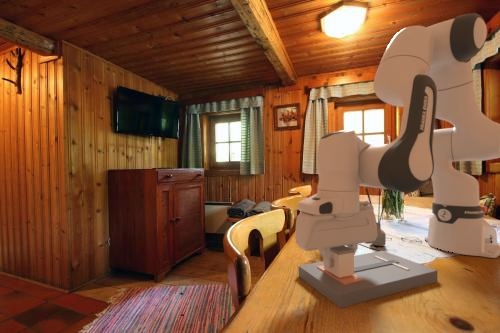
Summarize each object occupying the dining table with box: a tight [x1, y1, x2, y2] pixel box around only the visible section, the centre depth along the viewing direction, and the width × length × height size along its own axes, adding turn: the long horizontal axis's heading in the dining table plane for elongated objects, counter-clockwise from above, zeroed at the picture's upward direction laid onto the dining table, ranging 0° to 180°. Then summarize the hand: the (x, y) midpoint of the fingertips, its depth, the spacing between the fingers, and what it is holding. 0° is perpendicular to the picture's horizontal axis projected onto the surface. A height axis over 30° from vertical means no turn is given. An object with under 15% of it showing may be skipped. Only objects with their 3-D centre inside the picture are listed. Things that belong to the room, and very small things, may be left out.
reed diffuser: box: [365, 187, 389, 247], centre depth 79 cm, size 10×7×20 cm
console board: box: [297, 250, 439, 309], centre depth 55 cm, size 28×14×3 cm, turn 111°
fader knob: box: [324, 245, 355, 278], centre depth 52 cm, size 4×5×5 cm
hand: (338, 264), depth 52 cm, fingers closed on fader knob, 4 cm apart
